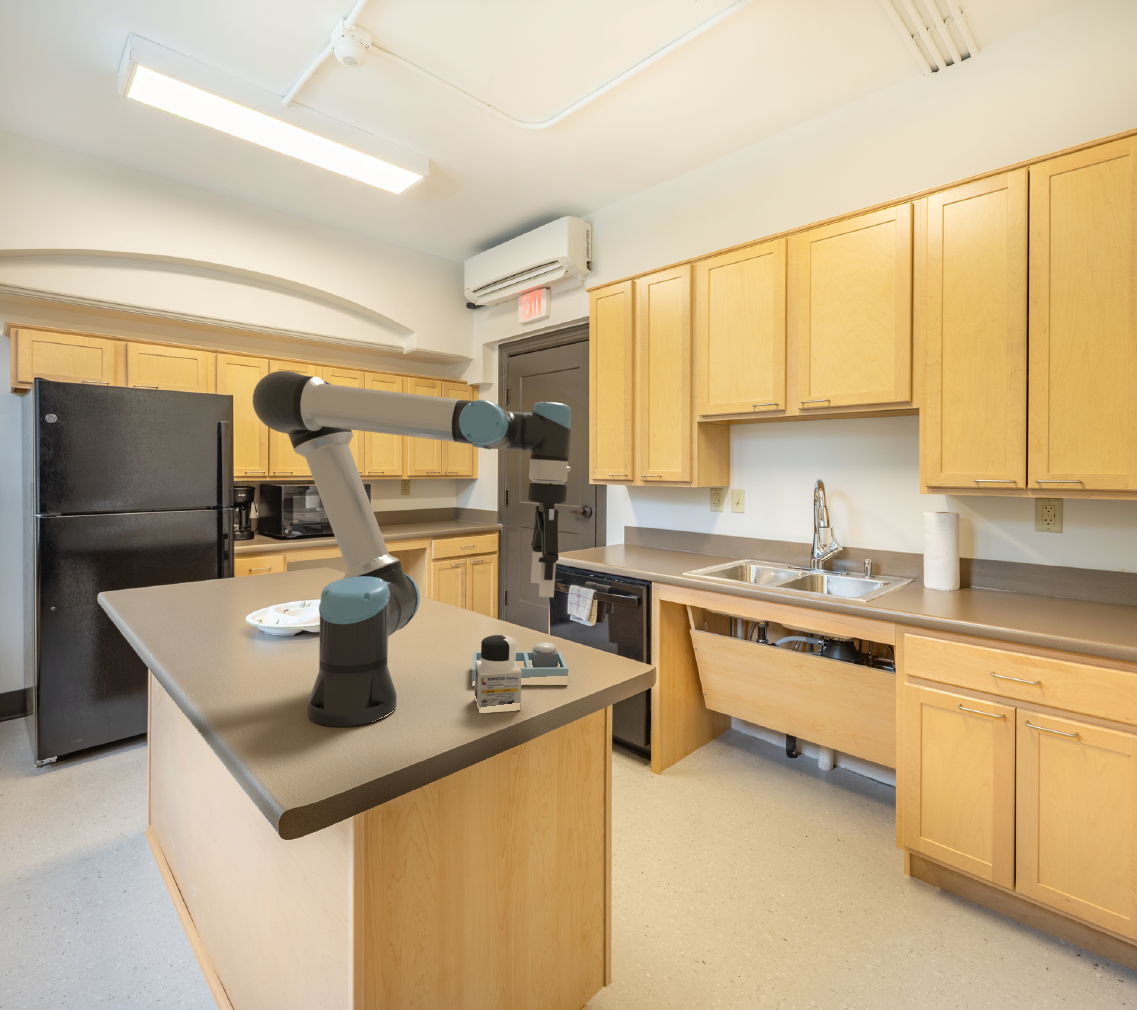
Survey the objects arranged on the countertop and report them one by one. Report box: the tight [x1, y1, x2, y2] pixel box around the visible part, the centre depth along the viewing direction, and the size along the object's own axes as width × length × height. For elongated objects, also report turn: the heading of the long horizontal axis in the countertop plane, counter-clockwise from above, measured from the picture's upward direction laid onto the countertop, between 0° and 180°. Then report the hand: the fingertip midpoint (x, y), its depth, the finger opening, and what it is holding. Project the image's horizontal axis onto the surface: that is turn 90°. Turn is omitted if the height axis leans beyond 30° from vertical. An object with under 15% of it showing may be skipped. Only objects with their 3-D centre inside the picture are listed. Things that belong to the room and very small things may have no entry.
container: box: [474, 634, 522, 708], centre depth 113 cm, size 8×8×13 cm
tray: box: [471, 641, 569, 682], centre depth 129 cm, size 20×12×7 cm, turn 98°
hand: (541, 589), depth 118 cm, fingers open, 13 cm apart
